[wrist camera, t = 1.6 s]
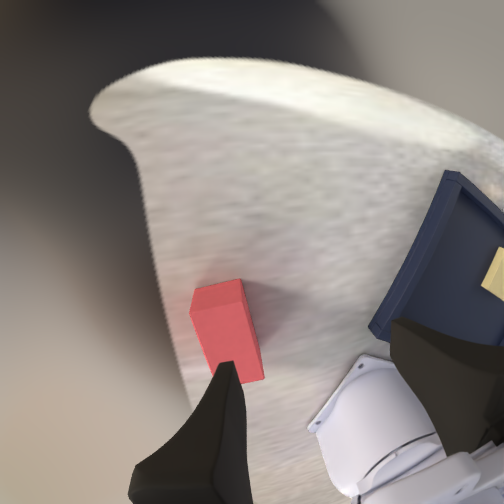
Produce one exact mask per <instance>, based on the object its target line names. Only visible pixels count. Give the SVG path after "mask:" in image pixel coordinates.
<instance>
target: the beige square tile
mask: <svg viewBox="0 0 504 504" xmlns="http://www.w3.org/2000/svg"><path fill="white" fill-rule="evenodd" d="M481 286H482V287H484V288H485V289H487V290H488V291H490V292H491V293H492V294H494V295H495V296H497V297H498V298H500V299H501V300H503V301H504V248H502V247H499V248H498V250H497V252H496V255H495V257H494V259H493V261H492V264H491V266H490V268H489V270H488V272H487V274H486V276H485V278H484V280H483V282H482V284H481Z"/></svg>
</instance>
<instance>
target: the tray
mask: <svg viewBox="0 0 504 504" xmlns="http://www.w3.org/2000/svg"><path fill="white" fill-rule="evenodd" d="M499 247H502V248H504V213H503V212H502V211H501V210H500V209H499V208H498V207H497V206H496V205H495V204H494V203H493V202H492V201H491V200H490V199H489V198H488V197H487V196H486V195H485V194H483V193H482V192H481V191H480V190H479V189H478V188H477V187H476V186H475V185H474V184H473V183H471V182H470V181H469V180H468V179H467V178H466V177H465V176H463V175H462V174H461V173H460V172H456V171H450V170H445V171H444V174H443V176H442V179H441V182H440V184H439V187H438V189H437V191H436V194H435V196H434V199H433V201H432V203H431V206H430V208H429V210H428V213H427V215H426V217H425V219H424V222H423V224H422V226H421V228H420V230H419V232H418V235H417V237H416V239H415V241H414V243H413V245H412V247H411V249H410V251H409V253H408V255H407V257H406V259H405V261H404V263H403V265H402V267H401V269H400V271H399V273H398V274H397V276H396V278H395V280H394V282H393V284H392V286H391V287H390V289H389V291H388V293H387V295H386V296H385V298H384V300H383V302H382V303H381V305H380V307H379V309H378V310H377V312H376V314H375V315H374V317H373V319H372V320H371V322H370V324H369V325H368V328H369V329H370V331H371V332H372V333H373V334H374V336H375V337H376V338H377V339H380V340H383V341H386V342H389V343H390V341H391V320H394V319H397V318H400V317H405V318H408V319H410V320H413V321H415V322H417V323H420V324H422V325H424V326H426V327H429V328H431V329H434V330H436V331H439V332H441V333H444V334H446V335H449V336H452V337H455V338H458V339H462V340H466V341H470V342H474V343H479V344H485V345H493V346H504V301H503V300H501V299H500V298H498V297H497V296H495V295H494V294H492V293H491V292H490V291H488V290H487V289H485V288H484V287H482V286H481V284H482V282H483V280H484V278H485V276H486V274H487V272H488V270H489V268H490V266H491V264H492V261H493V259H494V257H495V255H496V252H497V250H498V248H499Z"/></svg>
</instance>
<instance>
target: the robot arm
mask: <svg viewBox="0 0 504 504" xmlns="http://www.w3.org/2000/svg"><path fill="white" fill-rule="evenodd" d="M390 357H391V359H392V361H393V362H391V361H388V360H384V359H380V358H377V357H373V356H370V355H366V354H364V355H361V356H360V357H359V358H358V359H357V361H356V362H355V364H354V365H353V367H352V368H351V370H350V371H349V373H348V374H347V375H346V377H345V378H344V380H343V381H342V382H341V384H340V385H339V387H338V388H337V389H336V391H335V392H334V393H333V395H332V396H331V397H330V399H329V400H328V401H327V403H326V404H325V405H324V407H323V408H322V409H321V410H320V412H319V413H318V414H317V415H316V417H315V418H314V419H313V421H312V422H311V423H310V424H309V425H308V427H307V429H308V431H309V432H312V433H316V435H317V438H318V442H319V445H320V448H321V451H322V455H323V458H324V461H325V464H326V468H327V471H328V474H329V477H330V479H331V481H332V483H333V484H334V486H335V487H336V488H337V489H338V490H339V491H340V492H341V493H343V494H344V495H346V496H348V497H350V498H352V500H351V504H504V346H493V345H485V344H479V343H474V342H470V341H466V340H462V339H458V338H455V337H452V336H449V335H446V334H444V333H441V332H439V331H436V330H434V329H431V328H429V327H426V326H424V325H422V324H420V323H417V322H415V321H413V320H410V319H408V318H405V317H400V318H397V319H394V320H391V341H390ZM360 364H362V365H361V366H359V365H360ZM317 421H318V422H317ZM128 497H129V499H130V500H131V501H132V503H133V504H253V500H252V493H251V487H250V480H249V472H248V464H247V421H246V406H245V398H244V392H243V389H242V386H241V383H240V380H239V377H238V373H237V370H236V367H235V364H234V360H232V361H226V362H221V363H219V364H218V366H217V369H216V371H215V373H214V376H213V378H212V380H211V382H210V384H209V386H208V388H207V390H206V392H205V394H204V396H203V397H202V399H201V401H200V402H199V404H198V405H197V407H196V409H195V410H194V412H193V413H192V415H191V416H190V417H189V419H188V420H187V421H186V423H185V424H184V425H183V426H182V427H181V428H180V429H179V431H178V432H177V433H176V434H175V435H174V436H173V437H172V438H171V439H170V440H169V441H168V442H167V443H165V444H164V445H163V446H162V447H161V448H159V449H158V450H157V451H156V452H154V453H153V454H152V455H150V456H149V457H147V458H146V459H144V460H143V461H141V462H140V463H139V464H137V465H136V466H135V469H134V471H133V474H132V477H131V482H130V486H129V491H128Z"/></svg>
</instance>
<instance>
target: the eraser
mask: <svg viewBox="0 0 504 504" xmlns="http://www.w3.org/2000/svg"><path fill="white" fill-rule="evenodd" d="M189 315H190V317H191V320H192V323H193V326H194V328H195V331H196V334H197V337H198V339H199V342H200V345H201V347H202V350H203V353H204V355H205V358H206V360H207V363H208V365H209V368H210V370H211V373H212V375H213V376H214V373H215V371H216V369H217V366H218V364H219V363H221V362H226V361H232V360H234V364H235V367H236V370H237V373H238V377H239V380H240V383H241V384H244V383H249V382H253V381H258V380H263V379H264V378H265V377H264V371H263V365H262V359H261V353H260V348H259V345H258V341H257V337H256V334H255V330H254V326H253V323H252V319H251V315H250V311H249V308H248V304H247V300H246V296H245V293H244V289H243V285H242V281H241V279H236V280H232V281H227V282H223V283H219V284H215V285H210V286H206V287H202V288H197V289H195V291H194V295H193V299H192V303H191V307H190V311H189Z"/></svg>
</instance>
